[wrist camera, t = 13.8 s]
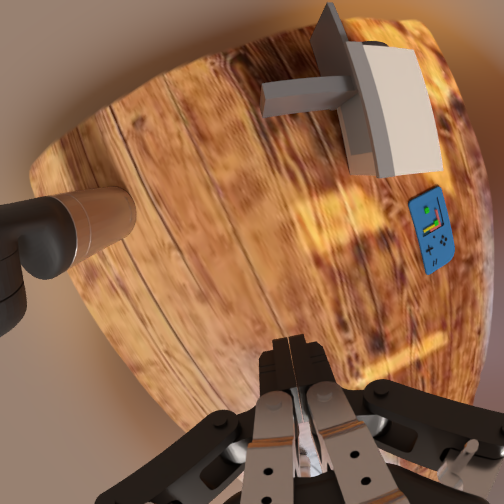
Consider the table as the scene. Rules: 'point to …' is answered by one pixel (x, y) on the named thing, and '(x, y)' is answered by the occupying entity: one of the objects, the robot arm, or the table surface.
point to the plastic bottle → (304, 466)
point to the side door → (317, 88)
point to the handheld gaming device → (432, 229)
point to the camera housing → (388, 114)
